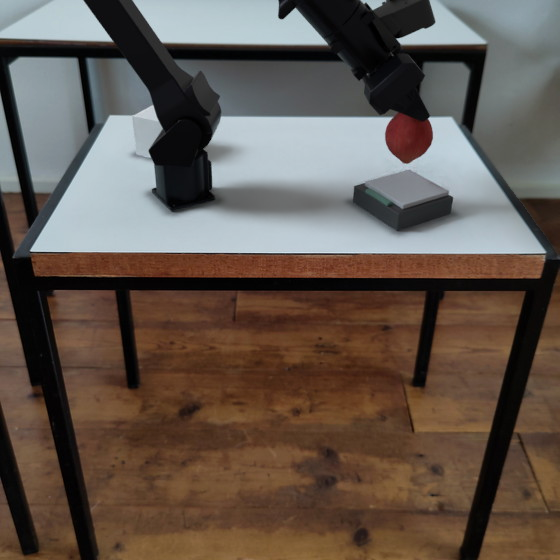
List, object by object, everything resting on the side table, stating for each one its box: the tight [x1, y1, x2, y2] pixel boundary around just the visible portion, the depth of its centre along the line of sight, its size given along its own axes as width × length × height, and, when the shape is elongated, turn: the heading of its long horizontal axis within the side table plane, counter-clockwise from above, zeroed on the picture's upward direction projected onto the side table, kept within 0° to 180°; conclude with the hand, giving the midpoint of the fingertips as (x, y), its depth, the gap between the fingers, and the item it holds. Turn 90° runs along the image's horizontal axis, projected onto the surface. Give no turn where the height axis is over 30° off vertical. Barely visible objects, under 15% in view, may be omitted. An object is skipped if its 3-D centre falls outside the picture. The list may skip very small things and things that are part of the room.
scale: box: [352, 169, 454, 232], centre depth 89 cm, size 9×9×3 cm
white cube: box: [131, 104, 163, 159], centre depth 102 cm, size 6×6×6 cm
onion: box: [384, 112, 434, 165], centre depth 86 cm, size 6×6×8 cm
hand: (422, 113), depth 84 cm, fingers closed on onion, 3 cm apart
